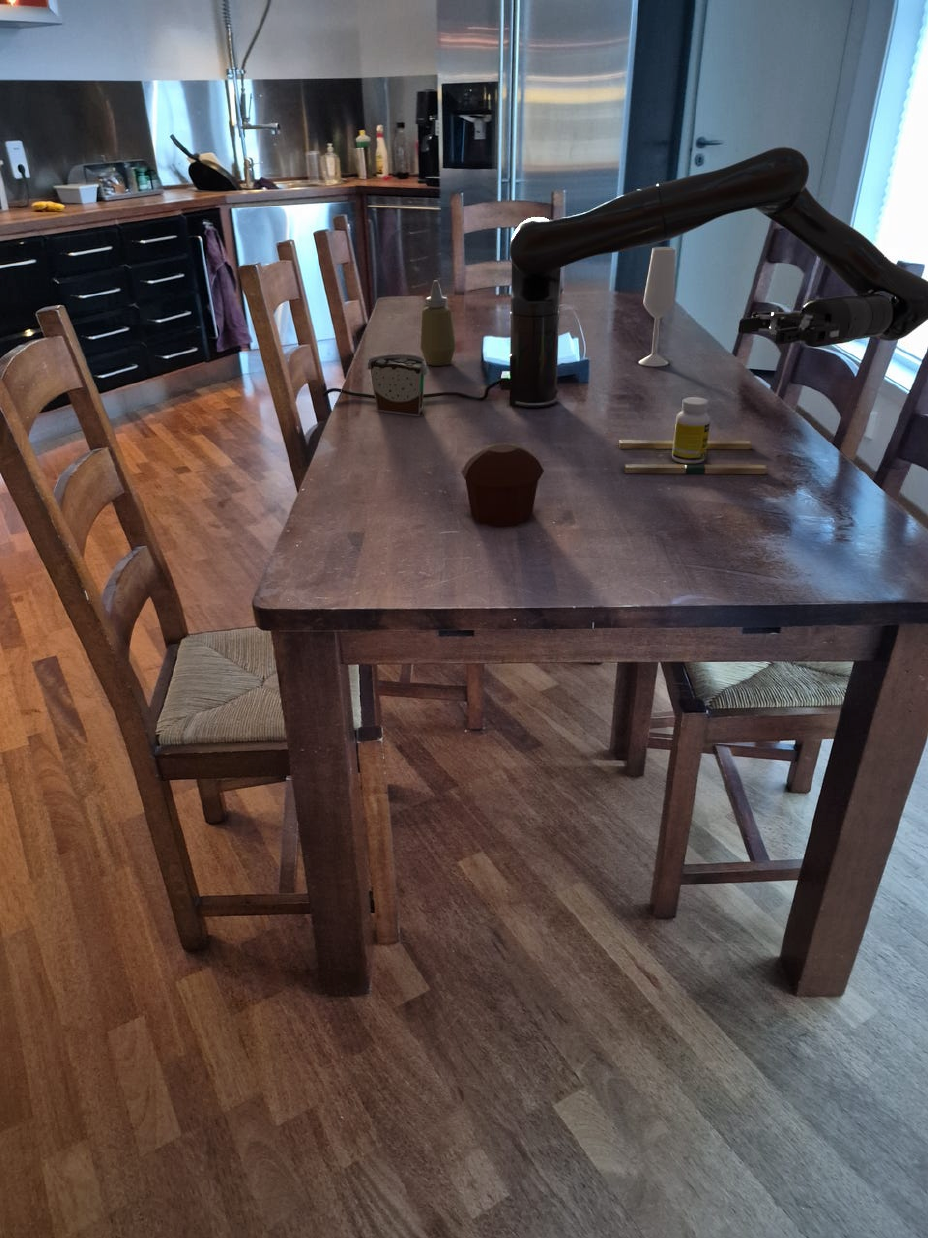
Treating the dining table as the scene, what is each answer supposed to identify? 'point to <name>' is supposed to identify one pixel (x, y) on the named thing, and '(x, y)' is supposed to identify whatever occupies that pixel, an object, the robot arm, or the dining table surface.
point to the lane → (690, 468)
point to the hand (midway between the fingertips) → (758, 331)
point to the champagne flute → (659, 295)
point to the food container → (398, 383)
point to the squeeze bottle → (437, 329)
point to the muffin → (502, 484)
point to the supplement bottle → (691, 431)
